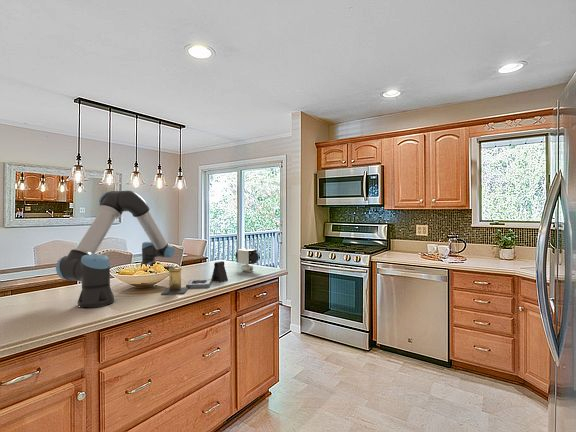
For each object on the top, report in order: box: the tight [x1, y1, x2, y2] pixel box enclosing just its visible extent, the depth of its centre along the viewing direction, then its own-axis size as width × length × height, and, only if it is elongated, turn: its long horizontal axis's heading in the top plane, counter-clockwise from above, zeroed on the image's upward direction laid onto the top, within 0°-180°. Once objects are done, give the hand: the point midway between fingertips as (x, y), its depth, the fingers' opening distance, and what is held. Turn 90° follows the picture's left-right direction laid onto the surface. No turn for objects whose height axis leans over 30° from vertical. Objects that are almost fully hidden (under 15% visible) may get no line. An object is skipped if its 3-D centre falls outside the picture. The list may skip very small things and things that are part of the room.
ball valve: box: [234, 247, 259, 273], centre depth 231 cm, size 18×8×18 cm, turn 49°
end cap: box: [168, 266, 182, 292], centre depth 175 cm, size 7×7×12 cm
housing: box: [185, 278, 213, 289], centre depth 189 cm, size 14×13×2 cm
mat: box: [160, 286, 190, 296], centre depth 175 cm, size 12×12×1 cm
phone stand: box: [211, 260, 229, 283], centre depth 202 cm, size 9×6×12 cm, turn 56°
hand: (168, 272), depth 181 cm, fingers open, 13 cm apart
